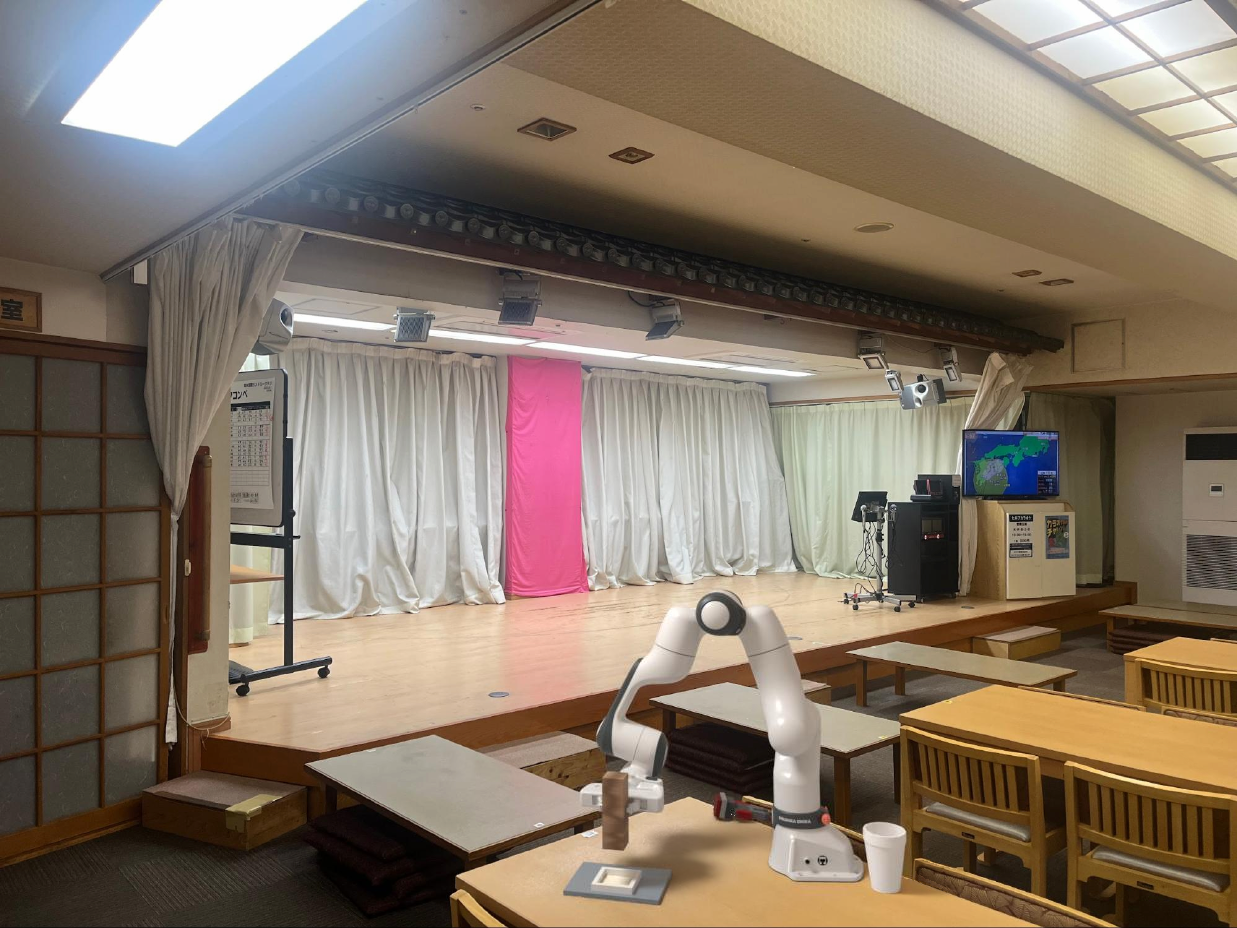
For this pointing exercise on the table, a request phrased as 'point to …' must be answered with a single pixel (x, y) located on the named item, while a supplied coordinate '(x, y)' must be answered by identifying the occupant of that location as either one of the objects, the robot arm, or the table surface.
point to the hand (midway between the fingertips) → (614, 809)
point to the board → (644, 892)
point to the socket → (616, 880)
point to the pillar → (615, 811)
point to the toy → (737, 809)
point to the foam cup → (885, 855)
